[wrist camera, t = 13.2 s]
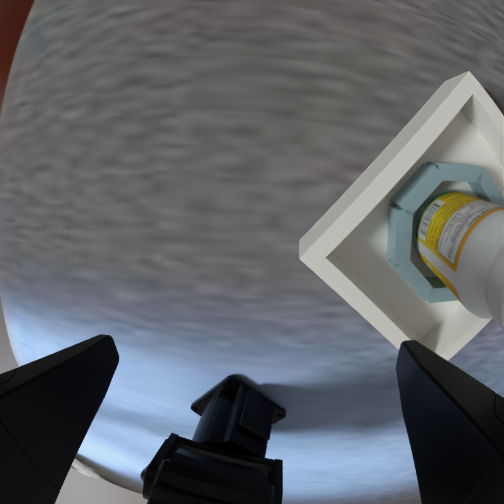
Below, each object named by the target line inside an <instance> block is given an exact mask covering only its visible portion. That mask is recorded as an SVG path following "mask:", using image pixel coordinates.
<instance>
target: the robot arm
mask: <svg viewBox="0 0 504 504" xmlns="http://www.w3.org/2000/svg"><path fill="white" fill-rule="evenodd" d="M118 363H119V354H118V351H117V349H116V346H115V343H114V340H113V338H112V337H111V336H110V335H103V334H101V335H98V336H95V337H93V338H90V339H88V340H85V341H83V342H80V343H78V344H75V345H73V346H71V347H68V348H66V349H63V350H61V351H58V352H56V353H53V354H51V355H48V356H46V357H43V358H41V359H38V360H36V361H33V362H30V363H28V364H25V365H23V366H20V367H18V368H15V369H13V370H10V371H7V372H5V373H2V374H0V504H55V502H56V499H57V497H58V494H59V492H60V489H61V487H62V485H63V483H64V480H65V478H66V476H67V474H68V472H69V469H70V467H71V465H72V463H73V461H74V458H75V456H76V454H77V452H78V450H79V448H80V446H81V444H82V442H83V440H84V437H85V435H86V433H87V431H88V429H89V427H90V425H91V423H92V421H93V419H94V417H95V415H96V413H97V411H98V409H99V407H100V405H101V403H102V401H103V399H104V397H105V395H106V393H107V390H108V388H109V385H110V383H111V380H112V378H113V375H114V373H115V370H116V368H117V365H118ZM396 372H397V379H398V385H399V391H400V398H401V406H402V412H403V417H404V421H405V425H406V429H407V433H408V438H409V442H410V446H411V451H412V455H413V460H414V465H415V469H416V474H417V480H418V485H419V491H420V496H421V502H422V504H504V398H503V397H502V396H500V395H499V394H495V392H494V391H493V390H491V389H490V388H488V387H487V386H485V385H484V384H482V383H481V382H479V381H478V380H476V379H475V378H473V377H471V376H470V375H468V374H467V373H465V372H464V371H462V370H461V369H459V368H458V367H456V366H455V365H453V364H452V363H450V362H449V361H447V360H446V359H444V358H442V357H441V356H439V355H438V354H436V353H435V352H433V351H432V350H430V349H429V348H427V347H426V346H424V345H422V344H421V343H419V342H418V341H416V340H406V341H403V342H402V343H401V345H400V349H399V354H398V359H397V363H396ZM231 381H233V382H231ZM191 410H193V411H194V412H195V413H197V414H198V415H200V416H201V418H200V421H199V423H198V426H197V428H196V431H195V434H194V436H193V439H192V440H190V439H186V438H183V437H180V436H179V435H177V434H174V433H171V435H170V436H169V438H168V439H166V440H165V441H164V443H163V444H162V446H161V447H160V449H159V450H158V452H157V453H156V455H155V456H154V458H153V460H152V461H151V463H150V464H149V465H148V466H147V467H146V468H145V469H144V470H143V471H142V473H141V479H142V481H143V482H144V484H143V498H144V499H147V500H148V503H147V504H282V495H283V460H279V459H275V460H273V459H268V458H265V455H266V449H267V443H268V440H269V439H270V434H271V428H272V425H273V424H274V423H276V422H278V421H280V420H281V419H283V418H285V417H286V410H284V409H283V408H281V407H280V406H278V405H277V404H275V403H274V402H272V401H271V400H269V399H267V398H266V397H264V396H263V395H261V394H260V393H259V392H257V391H256V390H254V389H253V388H251V387H250V386H248V385H247V384H245V383H244V382H243V381H241V380H240V379H238V378H237V377H235V376H232V375H230V376H228V377H226V378H225V379H224V380H222V381H221V382H220V383H219V384H217V385H216V386H215V387H213V388H212V389H211V390H210V391H208V392H207V393H206V394H204V395H203V396H202V397H200V398H199V399H198V400H196V401H195V402H194V403H192V405H191ZM279 413H281V414H279Z"/></svg>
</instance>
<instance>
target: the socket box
mask: <svg viewBox="0 0 504 504" xmlns="http://www.w3.org/2000/svg"><path fill="white" fill-rule="evenodd" d="M448 190H453V191H458V192H461V193H464V194H467V195H470V196H473V197H476V198H479V199H482V200H485V201H487V202H490V203H493V204H496V205H499V206H501V207H504V116H503V114H502V113H501V111H500V110H499V109H498V107H497V106H496V104H495V103H494V102H493V100H492V99H491V98H490V96H489V95H488V94H487V92H486V91H485V90H484V88H483V87H482V86H481V85H480V83H479V82H478V81H477V80H476V79H475V77H474V76H473V75H472V74H471V73H470V71H468V72H465V73H463V74H461V75H458V76H456V77H454V78H451V79H449V80H447V81H445V82H444V83H443V84H442V85H441V86H440V87H439V88H438V90H437V91H436V92H435V93H434V94H433V95H432V97H431V98H430V99H429V100H428V101H427V102H426V103H425V104H424V106H423V107H422V108H421V109H420V110H419V111H418V112H417V114H416V115H415V116H414V117H413V118H412V119H411V120H410V121H409V123H408V124H407V125H406V126H405V127H404V128H403V129H402V130H401V131H400V133H399V134H398V135H397V136H396V137H395V138H394V139H393V140H392V141H391V143H390V144H389V145H388V146H387V147H386V148H385V149H384V150H383V151H382V152H381V154H380V155H379V156H378V157H377V158H376V159H375V160H374V161H373V162H372V163H371V165H370V166H369V167H368V168H367V169H366V170H365V171H364V172H363V173H362V174H361V175H360V176H359V178H358V179H357V180H356V181H355V182H354V183H353V184H352V185H351V186H350V187H349V188H348V189H347V190H346V192H345V193H344V194H343V195H342V196H341V197H340V198H339V199H338V200H337V201H336V202H335V203H334V204H333V205H332V206H331V208H330V209H329V210H328V211H327V212H326V213H325V214H324V215H323V216H322V217H321V218H320V219H319V220H318V221H317V222H316V223H315V224H314V225H313V226H312V228H311V229H310V230H309V231H308V232H307V233H306V234H305V235H304V236H303V237H302V238H301V239H300V240H299V259H300V260H301V261H302V262H303V263H305V264H306V265H307V266H308V267H309V268H310V269H311V270H312V271H314V272H315V273H316V274H317V275H318V276H319V277H320V278H321V279H322V280H324V281H325V282H326V283H327V284H328V285H329V286H330V287H331V288H332V289H333V290H335V291H336V292H337V293H338V294H339V295H340V296H341V297H342V298H343V299H344V300H346V301H347V302H348V303H349V304H350V305H351V306H352V307H353V308H354V309H355V310H356V311H358V312H359V313H360V314H361V315H362V316H363V317H364V318H365V319H366V320H367V321H368V322H369V323H371V324H372V325H373V326H374V327H375V328H376V329H377V330H378V331H379V332H380V333H381V334H382V335H383V336H384V337H386V338H387V339H388V340H389V341H390V342H391V343H392V344H393V345H394V346H395V347H396V348H397V349H398V350H399V349H400V345H401V343H402V342H403V341H406V340H416V341H418V342H419V343H421V344H422V345H424V346H426V347H427V348H429V349H430V350H432V351H433V352H435V353H436V354H438V355H439V356H441V357H442V358H444V359H446V360H447V361H448V360H449V359H450V358H451V357H453V356H454V355H455V354H456V353H457V352H458V351H459V350H460V349H462V348H463V347H464V346H465V345H466V344H467V343H468V342H469V341H470V340H471V339H472V338H473V337H474V336H475V335H476V334H477V333H478V332H479V331H480V330H481V329H482V328H483V327H484V326H485V325H486V324H487V323H488V322H489V321H490V320H491V319H484V318H480V317H478V316H475V315H474V314H472V313H471V312H469V311H468V310H467V309H466V308H465V307H464V306H463V304H461V302H460V301H459V300H458V299H457V297H456V296H455V295H454V294H453V293H452V292H451V291H450V289H449V288H448V287H447V286H446V285H445V284H444V283H443V282H442V281H441V280H440V279H439V278H438V276H437V275H436V274H435V273H434V272H433V271H432V270H431V269H430V268H429V267H428V266H427V265H426V264H425V263H424V262H423V261H422V259H421V258H420V257H419V255H418V253H417V251H416V248H415V244H414V238H413V231H414V224H415V220H416V217H417V214H418V212H419V210H420V209H421V207H422V206H423V204H424V203H425V202H426V201H427V200H428V199H429V198H430V197H432V196H433V195H435V194H437V193H439V192H442V191H448Z"/></svg>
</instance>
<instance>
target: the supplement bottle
mask: <svg viewBox="0 0 504 504" xmlns="http://www.w3.org/2000/svg"><path fill="white" fill-rule="evenodd" d="M413 238H414V244H415V248H416V251H417V253H418V255H419V257H420V258H421V259H422V261H423V262H424V263H425V264H426V265H427V266H428V267H429V268H430V269H431V270H432V271H433V272H434V273H435V274H436V275H437V276H438V278H439V279H440V280H441V281H442V282H443V283H444V284H445V285H446V286H447V287H448V288H449V289H450V291H451V292H452V293H453V294H454V295H455V296H456V297H457V299H458V300H459V301H460V302H461V304H463V306H464V307H465V308H466V309H467V310H468V311H469V312H471V313H472V314H474V315H475V316H478V317H480V318H484V319H494V320H495V321H496V322H498V323H499V325H500V326H501V327H502V328H503V329H504V207H501V206H499V205H496V204H493V203H490V202H487V201H485V200H482V199H479V198H476V197H473V196H470V195H467V194H464V193H461V192H458V191H453V190H448V191H442V192H439V193H437V194H435V195H433V196H432V197H430V198H429V199H428V200H427V201H426V202H425V203H424V204H423V206H422V207H421V209H420V210H419V212H418V214H417V217H416V220H415V224H414V231H413Z"/></svg>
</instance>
